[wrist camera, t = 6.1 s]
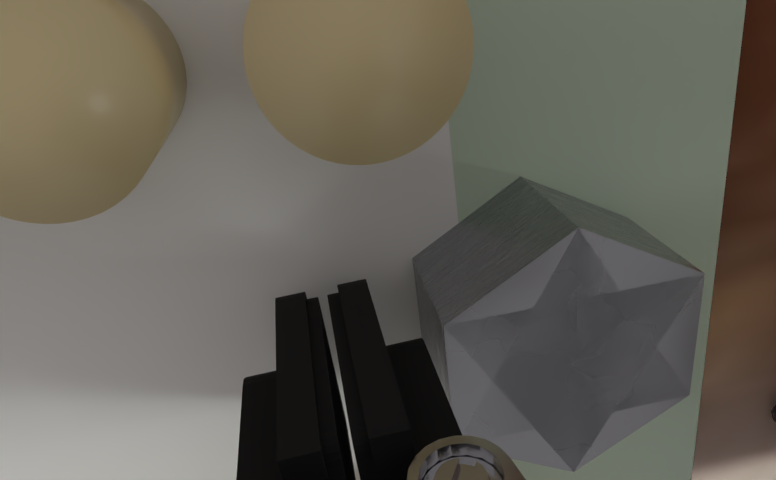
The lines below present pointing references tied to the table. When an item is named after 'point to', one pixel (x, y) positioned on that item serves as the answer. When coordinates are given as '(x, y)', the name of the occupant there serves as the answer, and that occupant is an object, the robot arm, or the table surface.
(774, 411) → the alarm clock
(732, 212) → the table surface
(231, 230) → the spacer board
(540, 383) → the grey faceted block
